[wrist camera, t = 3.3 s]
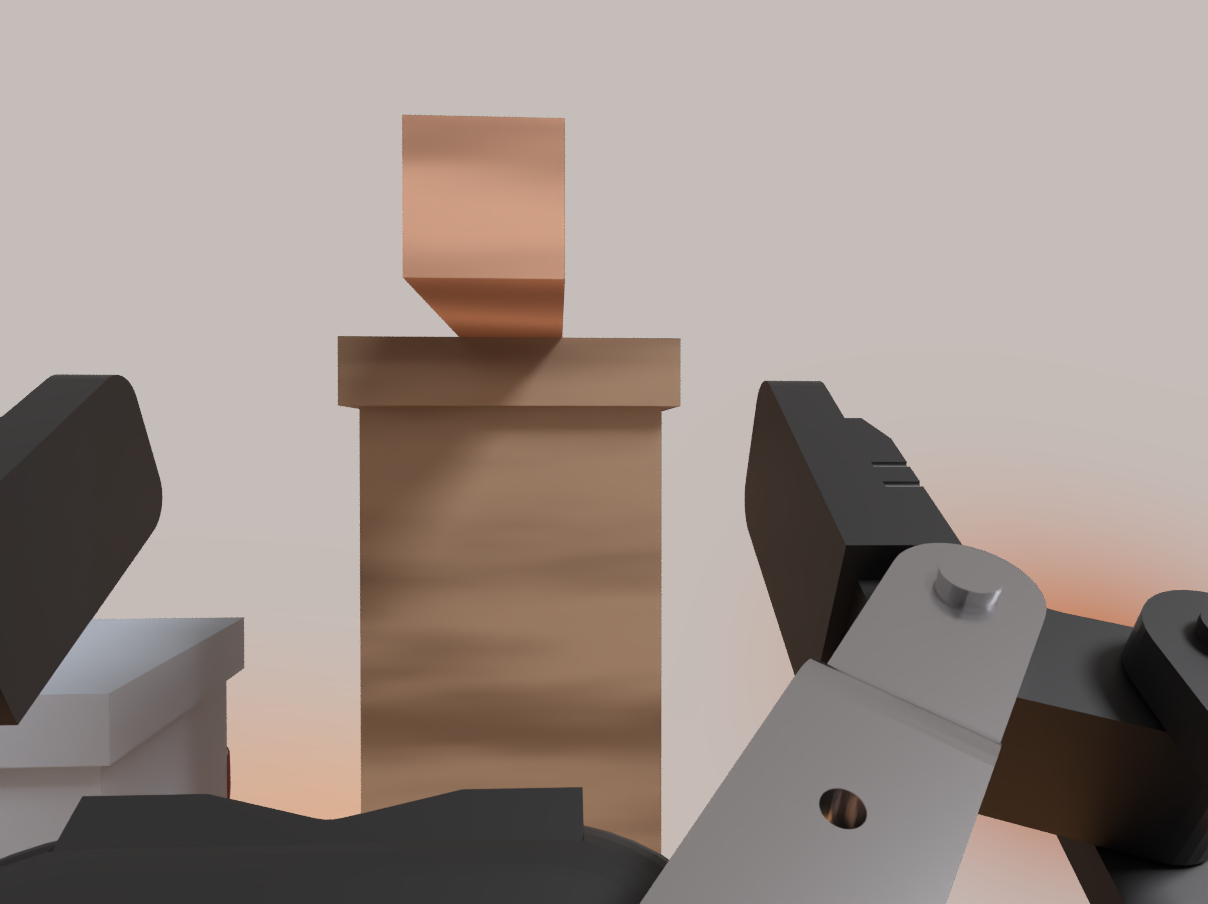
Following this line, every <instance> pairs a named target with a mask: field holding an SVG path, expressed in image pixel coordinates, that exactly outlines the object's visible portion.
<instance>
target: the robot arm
mask: <svg viewBox="0 0 1208 904" xmlns="http://www.w3.org/2000/svg"><path fill="white" fill-rule="evenodd" d="M906 463H907V462H906V460H905V459H904V457H903V456H902V454H901V453H900V451H899V450H898V448H897V447H896V446H895V444H894V442H893V441H892V440H891V438H889V437H888V436H886V435H885V434H884V433H882V432H880V431H879V430H878V429H876V428H875V427H873V426H872V425H870V424H869V423H868V422H866V421H865V420H863V419H862V418H844V417H843V415H842V413H841V411H840V410H839V408H838V406H837V405H836V403H835V402H834V400H833V398H832V396H831V395H830V393H829V391H828V390H827V388H826V387H825V385H824V384H823V383H822V382H821V381H764V382H763V383H762V384H761V387H760V389H759V393H758V398H757V403H756V411H755V418H754V425H753V433H752V440H751V448H750V454H749V462H748V469H747V476H746V485H745V514H746V522H747V527H748V531H749V534H750V537H751V540H752V543H753V546H754V550H755V553H756V556H757V559H758V562H759V565H760V568H761V571H762V575H763V578H764V581H765V584H766V587H767V590H768V593H769V596H770V600H771V603H772V606H773V609H774V612H775V615H776V618H777V621H778V624H779V628H780V631H781V634H782V637H783V640H784V643H785V646H786V649H787V652H788V656H789V659H790V662H791V665H792V668H793V671H794V674H795V677H794V678H793V680H792V681H791V683H790V684H789V685H788V687H787V689H786V690H785V691H784V693H783V694H782V696H781V697H780V699H779V700H778V702H777V703H776V705H775V706H774V708H773V709H772V710H771V712H770V713H769V715H768V716H767V718H766V719H765V721H764V722H763V724H762V725H761V727H760V728H759V730H758V731H757V732H756V734H755V735H754V737H753V738H752V740H751V741H750V743H749V744H748V746H747V747H746V749H745V750H744V751H743V753H742V754H741V756H740V758H739V759H738V760H737V762H736V763H735V765H734V767H733V768H732V769H731V771H730V772H729V774H728V775H727V776H726V778H725V780H724V781H723V782H722V784H721V785H720V787H719V788H718V790H717V791H716V793H715V794H714V795H713V797H712V798H711V800H710V802H709V803H708V804H707V806H706V807H705V809H704V810H703V812H702V813H701V815H700V816H699V817H698V819H697V821H696V822H695V823H694V825H693V826H692V828H691V829H690V831H689V832H688V834H687V835H686V837H685V838H684V840H683V841H682V843H681V844H680V845H679V847H678V848H677V850H676V851H675V853H674V854H673V856H672V857H671V858H670V860H668V859H667V858H666V857H664V856H663V855H661V854H659V853H657V852H655V851H653V850H651V849H649V848H647V847H645V846H643V845H641V844H639V843H637V842H635V841H633V840H631V839H628V838H625V837H622V836H620V835H617V834H614V833H611V832H608V831H605V830H601V829H597V828H593V827H589V826H585V825H584V821H583V787H558V788H503V789H461V790H457V791H453V792H449V793H445V794H441V795H436V796H432V797H428V798H424V799H420V800H416V801H411V802H407V803H403V804H399V805H395V806H391V807H386V808H382V809H378V810H374V811H370V812H366V813H361V814H357V815H354V816H349V817H345V818H340V819H334V820H323V819H316V818H311V817H307V816H302V815H298V814H294V813H289V812H285V811H280V810H276V809H272V808H267V807H263V806H259V805H254V804H250V803H246V802H241V801H237V800H232V799H228V798H224V797H219V796H215V795H211V794H175V795H120V796H82V798H81V799H80V801H79V803H78V805H77V807H76V808H75V810H74V812H73V814H72V815H71V817H70V819H69V821H68V823H67V824H66V826H65V828H64V830H63V831H62V833H61V835H60V837H59V839H58V840H57V841H53V842H49V843H45V844H42V845H39V846H35V847H32V848H29V849H26V850H23V851H20V852H17V853H14V854H11V855H9V856H6V857H4V858H1V859H0V904H946V902H947V899H948V897H949V893H950V891H951V888H952V885H953V882H954V880H955V877H956V874H957V871H958V868H959V865H960V863H961V860H962V857H963V854H964V851H965V848H966V846H967V843H968V840H969V837H970V834H971V831H972V829H973V826H974V823H975V820H976V817H977V815H978V814H981V815H984V816H988V817H991V818H995V819H999V820H1003V821H1006V822H1011V823H1014V824H1018V825H1021V826H1025V827H1029V828H1033V829H1037V830H1040V831H1044V832H1048V833H1051V834H1055V835H1057V837H1058V839H1059V841H1060V843H1061V845H1062V847H1063V849H1064V851H1065V853H1066V855H1067V858H1068V860H1069V861H1070V864H1071V865H1072V867H1073V870H1074V872H1075V874H1076V876H1077V878H1078V880H1079V882H1080V884H1081V886H1082V888H1083V890H1084V892H1085V894H1086V896H1087V898H1088V900H1089V902H1090V904H1208V593H1206V592H1200V591H1190V590H1173V591H1167V592H1162V593H1159V594H1157V595H1155V596H1153V597H1151V598H1150V599H1148V601H1147V602H1146V603H1145V605H1144V606H1143V608H1142V611H1141V613H1140V615H1139V617H1138V619H1137V621H1136V623H1135V625H1134V627H1129V626H1124V625H1119V624H1114V623H1110V622H1104V621H1100V620H1095V619H1091V618H1086V617H1080V616H1076V615H1071V614H1066V613H1062V612H1058V611H1054V610H1051V609H1048V608H1046V602H1045V599H1044V597H1043V594H1042V592H1041V591H1040V590H1039V588H1038V586H1037V585H1036V584H1035V583H1034V582H1033V581H1032V580H1031V579H1030V578H1029V577H1028V576H1027V575H1026V574H1025V573H1024V572H1022V571H1021V570H1020V569H1019V568H1017V567H1015V566H1014V565H1012V564H1011V563H1009V562H1008V561H1006V560H1004V559H1001V558H1000V557H998V556H996V555H993V554H991V553H988V552H986V551H983V550H979V549H976V548H973V547H969V546H964V545H962V544H961V542H960V541H959V539H958V538H957V537H956V535H955V533H954V532H953V530H952V529H951V527H950V526H949V525H948V523H947V521H946V520H945V519H944V517H943V516H942V514H941V513H940V511H939V510H938V508H937V507H936V505H935V504H934V502H933V501H932V499H931V498H930V496H929V495H928V493H927V492H926V490H925V489H924V487H920V485H919V482H920V481H919V480H918V478H917V477H916V475H915V474H914V472H913V471H912V470H911V468H910V467H907V466H906ZM161 507H162V487H161V482H160V477H159V474H158V470H157V467H156V463H155V460H154V457H153V453H152V449H151V446H150V443H149V439H148V436H147V432H146V429H145V425H144V422H143V418H142V415H141V411H140V408H139V404H138V401H137V397H136V395H135V392H134V390H133V387H132V386H131V384H130V383H129V381H128V380H126V379H125V378H124V377H123V376H120V375H53V376H51V377H49V378H48V379H46V380H45V381H44V382H43V383H42V384H40V385H39V386H38V387H37V388H36V389H34V390H33V391H32V392H31V393H30V394H29V395H27V396H26V397H25V398H24V399H23V400H22V401H20V402H19V403H18V404H17V405H16V406H14V407H13V408H12V409H11V410H9V411H8V412H7V413H6V414H5V415H4V416H2V417H0V726H2V725H18V724H19V723H20V721H21V720H22V719H23V717H24V716H25V714H26V713H27V711H28V710H29V709H30V707H31V706H32V704H33V703H34V701H35V700H36V699H37V697H38V696H39V694H40V693H41V691H42V690H43V689H44V687H45V686H46V684H47V683H48V681H49V680H50V679H51V677H52V676H53V674H54V673H55V671H56V670H57V668H58V667H59V666H60V664H61V663H62V661H63V660H64V658H65V657H66V656H67V654H68V653H69V651H70V650H71V648H72V647H73V646H74V644H75V643H76V641H77V640H78V638H79V637H80V636H81V634H82V633H83V631H84V630H85V628H86V627H87V625H88V624H89V623H90V621H91V620H92V618H93V617H94V615H95V614H96V613H97V611H98V610H99V608H100V607H101V605H102V604H103V603H104V601H105V600H106V598H107V597H108V595H109V594H110V592H111V591H112V590H113V588H114V587H115V585H116V584H117V583H118V581H119V580H120V578H121V576H122V575H123V574H124V572H125V571H126V570H127V568H128V567H129V565H130V564H131V562H132V561H133V560H134V558H135V557H136V555H137V554H138V552H139V551H140V550H141V548H142V546H143V545H144V543H145V542H146V541H147V540H148V538H149V537H150V535H151V534H152V532H153V531H154V529H155V527H156V526H157V523H158V521H159V517H160V513H161Z"/></svg>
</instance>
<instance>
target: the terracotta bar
mask: <svg viewBox="0 0 1208 904" xmlns="http://www.w3.org/2000/svg"><path fill="white" fill-rule="evenodd" d="M402 132H403V133H402V136H403V137H402V138H403V139H402V140H403V141H402V149H403V150H402V151H403V152H402V156H403V278H404V279H405V280H406V281H407V282H408V283H409V284H410V285H411V286H412V288H414V290H415V291H416V292H417V293H418V294H419V295H420V296H421V297H422V298H423V299H424V300H425V301H426V302H427V303H428V304H429V305H430V306H431V308H433V310H434V311H435V312H436V313H437V314H438V315H439V316H440V317H441V318H442V319H443V320H444V321H445V322H446V323H447V324H448V326H449V327H450V328H451V329H452V330H453V331H454V332H455V333H456V334H457V335H458V336H459V337H521V338H562V330H563V329H562V328H563V307H564V306H563V305H564V284H565V119H564V118H530V117H482V116H481V117H479V116H434V115H430V116H429V115H402Z"/></svg>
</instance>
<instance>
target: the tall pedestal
mask: <svg viewBox="0 0 1208 904" xmlns="http://www.w3.org/2000/svg"><path fill="white" fill-rule="evenodd" d="M338 405H340V406H346V407H352V408H358V409H360V607H361V608H360V612H361V613H360V622H361V623H360V627H361V628H360V629H361V630H360V631H361V632H360V633H361V813H366V812H370V811H374V810H378V809H382V808H386V807H391V806H395V805H399V804H403V803H407V802H411V801H416V800H420V799H424V798H428V797H432V796H436V795H441V794H445V793H449V792H453V791H457V790H461V789H503V788H558V787H583V821H584V825H585V826H589V827H593V828H597V829H601V830H605V831H608V832H611V833H614V834H617V835H620V836H622V837H625V838H628V839H631V840H633V841H635V842H637V843H639V844H641V845H643V846H645V847H647V848H649V849H651V850H653V851H655V852H657V853H659V854H661V411H665V410H668V409H671V408H675V407H679V406H680V339H673V338H671V339H670V338H521V337H371V336H369V337H362V336H338Z"/></svg>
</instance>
